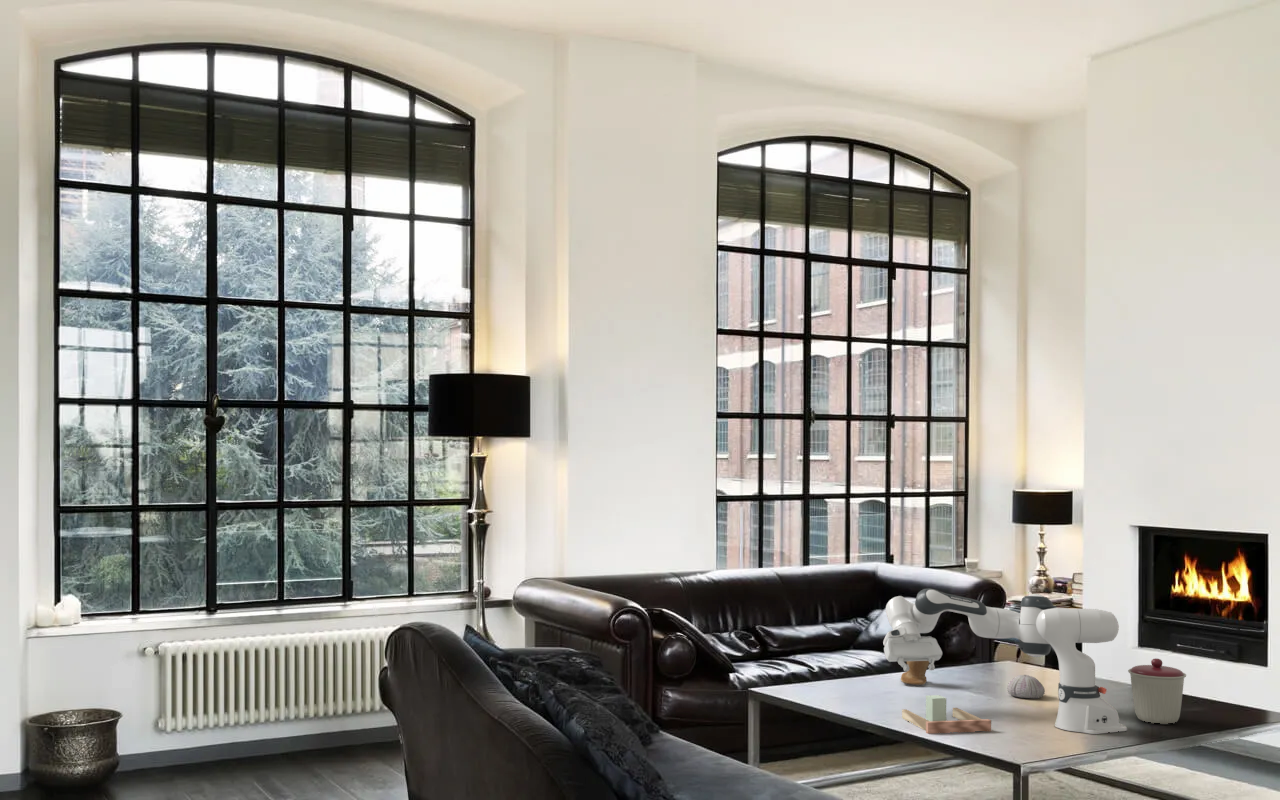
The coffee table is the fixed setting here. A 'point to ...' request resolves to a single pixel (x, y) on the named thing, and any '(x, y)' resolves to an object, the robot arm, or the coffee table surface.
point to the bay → (949, 722)
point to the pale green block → (935, 708)
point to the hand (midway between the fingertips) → (919, 669)
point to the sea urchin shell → (1025, 687)
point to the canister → (1157, 692)
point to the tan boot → (915, 673)
